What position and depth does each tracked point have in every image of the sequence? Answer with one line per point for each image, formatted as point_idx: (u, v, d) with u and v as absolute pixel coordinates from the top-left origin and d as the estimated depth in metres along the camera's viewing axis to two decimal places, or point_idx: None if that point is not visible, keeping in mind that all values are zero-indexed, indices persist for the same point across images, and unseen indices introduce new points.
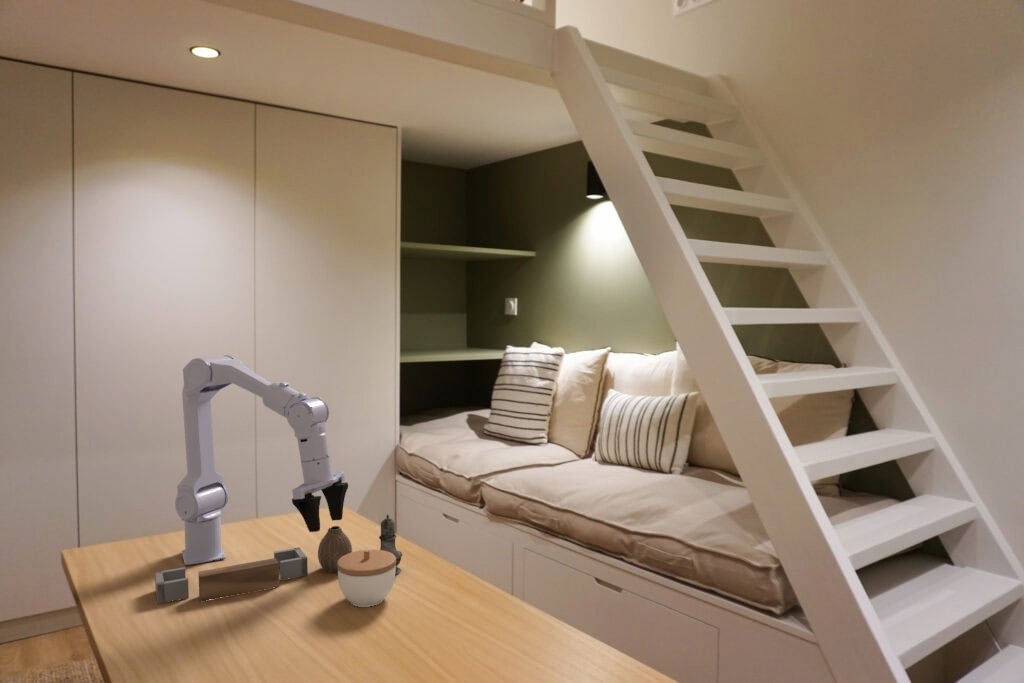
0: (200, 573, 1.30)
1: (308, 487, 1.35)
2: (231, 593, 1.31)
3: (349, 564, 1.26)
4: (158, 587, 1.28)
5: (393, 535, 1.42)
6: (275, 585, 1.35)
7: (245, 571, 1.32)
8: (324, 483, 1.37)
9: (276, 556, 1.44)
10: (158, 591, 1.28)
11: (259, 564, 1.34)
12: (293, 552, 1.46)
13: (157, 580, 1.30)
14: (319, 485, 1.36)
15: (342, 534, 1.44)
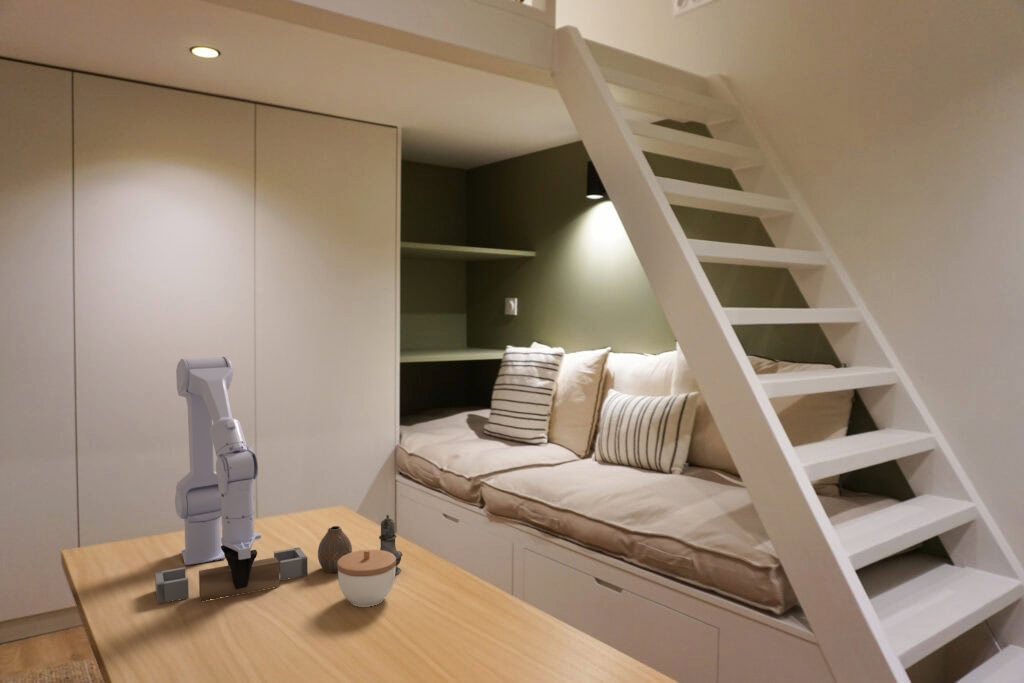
0: (200, 572, 1.30)
1: (250, 545, 1.29)
2: (231, 592, 1.31)
3: (349, 564, 1.26)
4: (158, 587, 1.28)
5: (393, 535, 1.42)
6: (275, 584, 1.35)
7: None
8: (254, 539, 1.33)
9: (276, 556, 1.44)
10: (158, 591, 1.28)
11: (259, 563, 1.35)
12: (293, 552, 1.46)
13: (157, 580, 1.30)
14: (253, 542, 1.31)
15: (342, 534, 1.44)
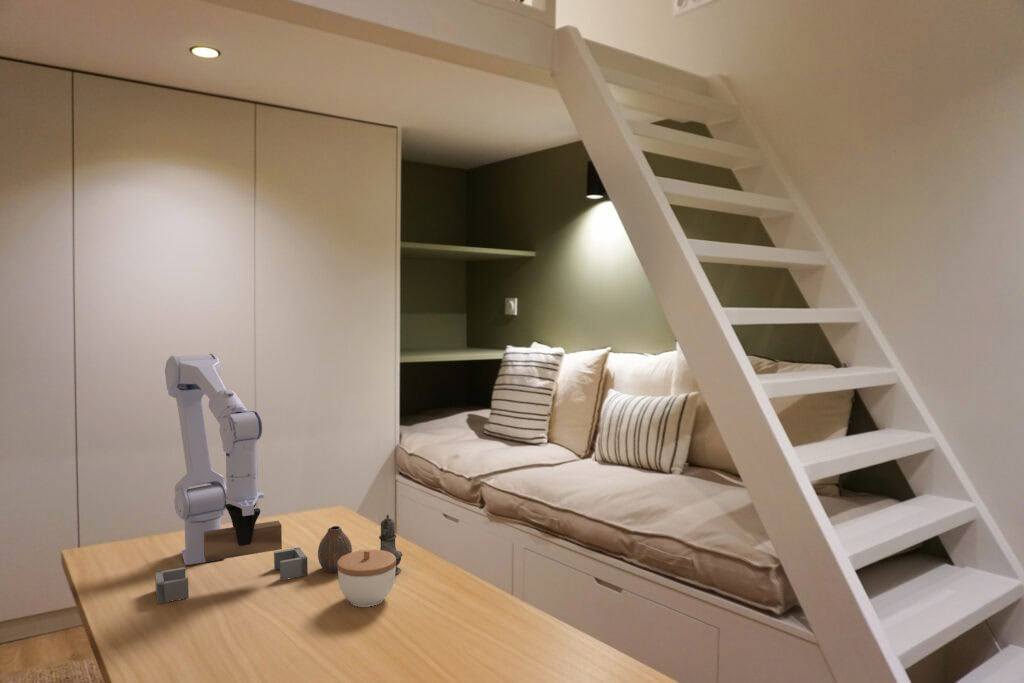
0: (205, 533, 1.34)
1: (253, 503, 1.32)
2: (235, 553, 1.35)
3: (349, 564, 1.26)
4: (158, 587, 1.28)
5: (393, 535, 1.42)
6: (278, 546, 1.39)
7: None
8: (257, 498, 1.36)
9: (276, 556, 1.44)
10: (158, 591, 1.28)
11: (262, 525, 1.38)
12: (293, 552, 1.46)
13: (157, 580, 1.30)
14: (256, 500, 1.35)
15: (342, 534, 1.44)
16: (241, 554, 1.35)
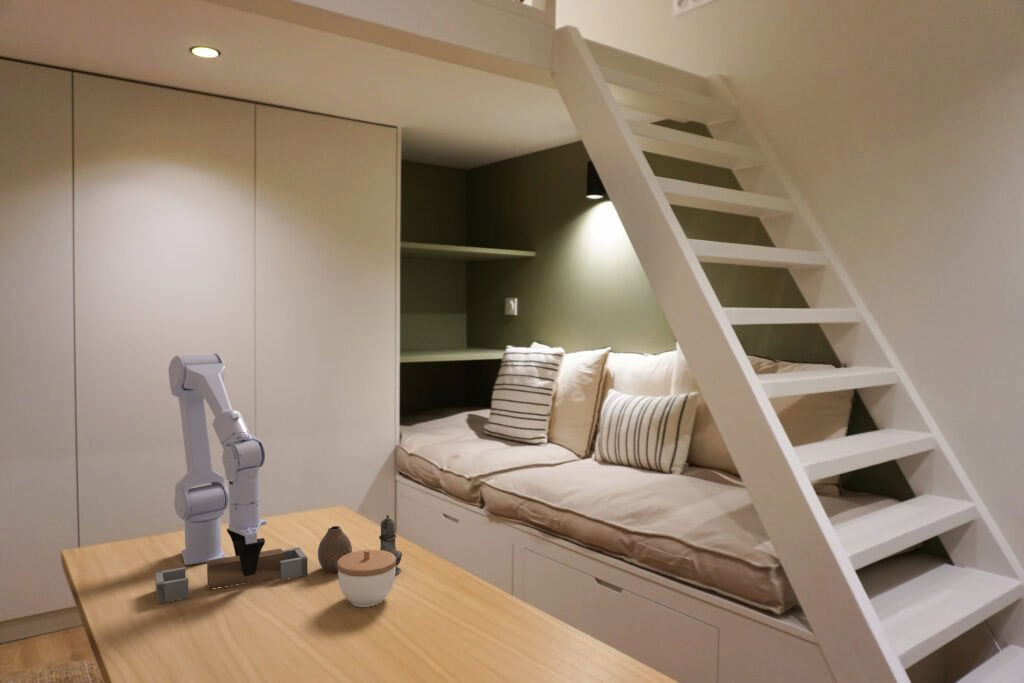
0: (209, 562, 1.35)
1: (256, 530, 1.34)
2: (238, 582, 1.37)
3: (349, 564, 1.26)
4: (158, 587, 1.28)
5: (393, 535, 1.42)
6: None
7: None
8: (260, 525, 1.38)
9: None
10: (158, 591, 1.28)
11: (265, 554, 1.40)
12: (293, 552, 1.46)
13: (157, 580, 1.30)
14: (259, 527, 1.37)
15: (341, 534, 1.44)
16: None
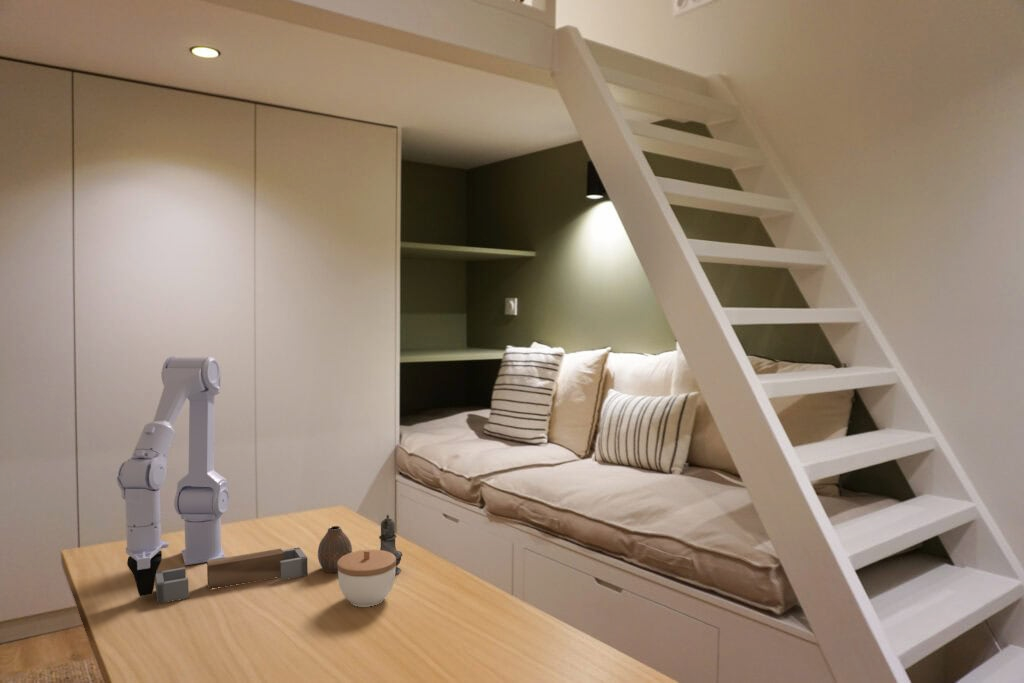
0: (208, 562, 1.35)
1: (152, 554, 1.25)
2: (238, 582, 1.37)
3: (349, 564, 1.26)
4: (158, 587, 1.28)
5: (393, 535, 1.42)
6: None
7: (252, 560, 1.38)
8: (159, 548, 1.29)
9: None
10: (158, 591, 1.28)
11: (265, 554, 1.40)
12: (293, 552, 1.46)
13: (157, 580, 1.30)
14: (157, 551, 1.28)
15: (341, 534, 1.44)
16: None
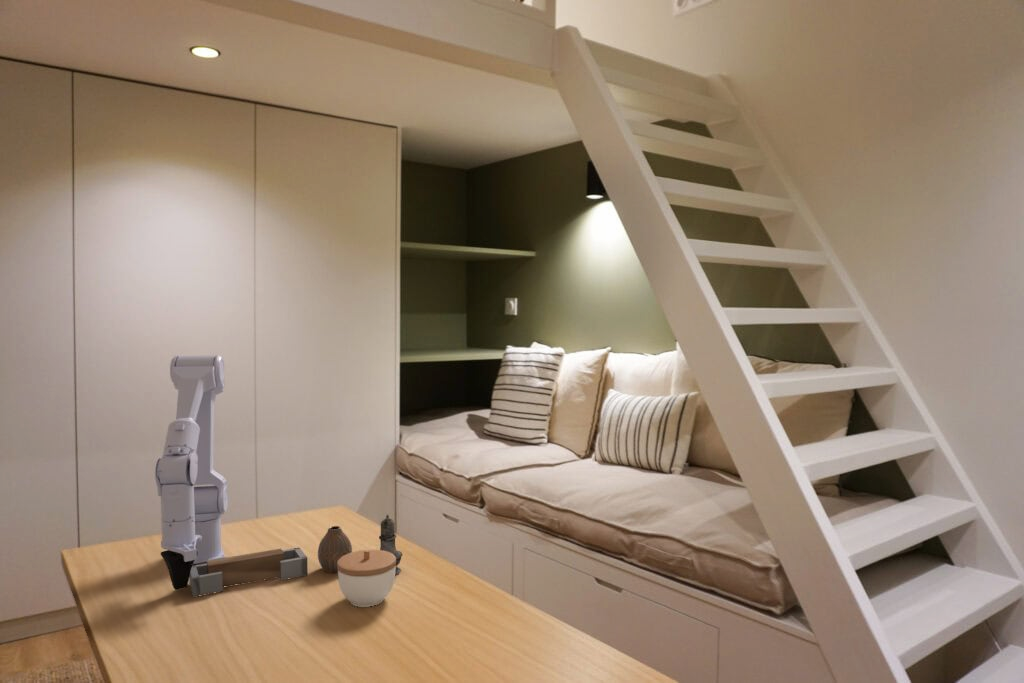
0: (208, 562, 1.35)
1: (194, 547, 1.29)
2: (238, 582, 1.37)
3: (349, 564, 1.26)
4: (193, 581, 1.31)
5: (393, 535, 1.42)
6: None
7: (252, 561, 1.38)
8: (196, 541, 1.33)
9: None
10: (193, 584, 1.31)
11: (265, 554, 1.40)
12: (293, 552, 1.46)
13: (192, 574, 1.33)
14: None
15: (341, 534, 1.44)
16: None
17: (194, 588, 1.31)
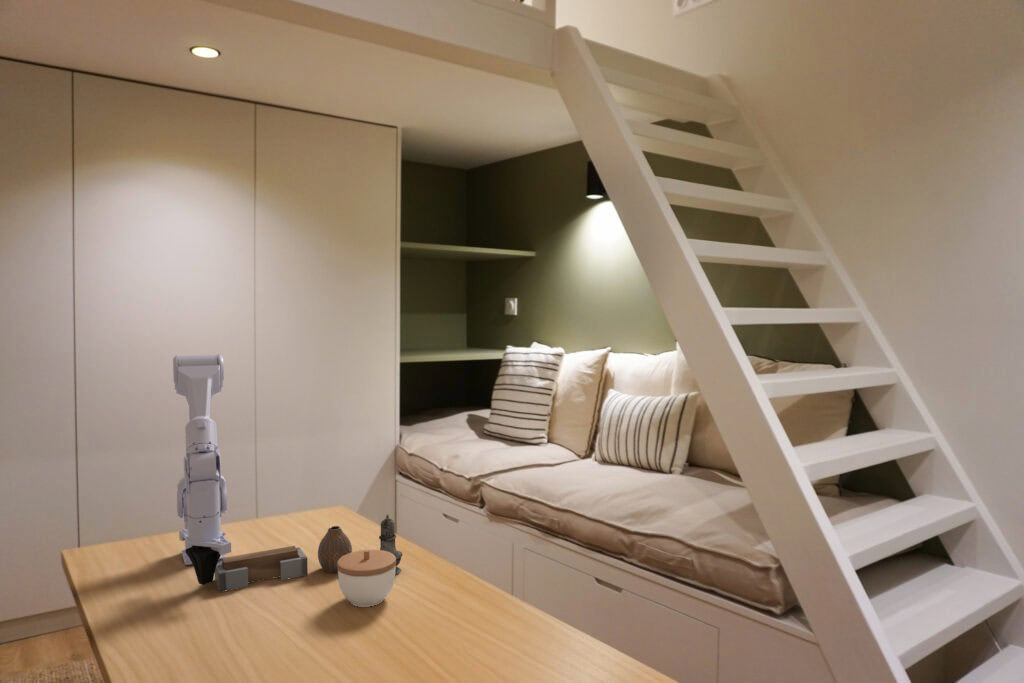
0: (224, 559, 1.37)
1: (226, 540, 1.33)
2: (253, 578, 1.38)
3: (349, 564, 1.26)
4: (220, 576, 1.33)
5: (393, 535, 1.42)
6: None
7: (267, 558, 1.39)
8: None
9: None
10: (220, 580, 1.33)
11: (279, 551, 1.41)
12: None
13: (218, 569, 1.35)
14: None
15: (341, 534, 1.44)
16: None
17: (221, 583, 1.33)
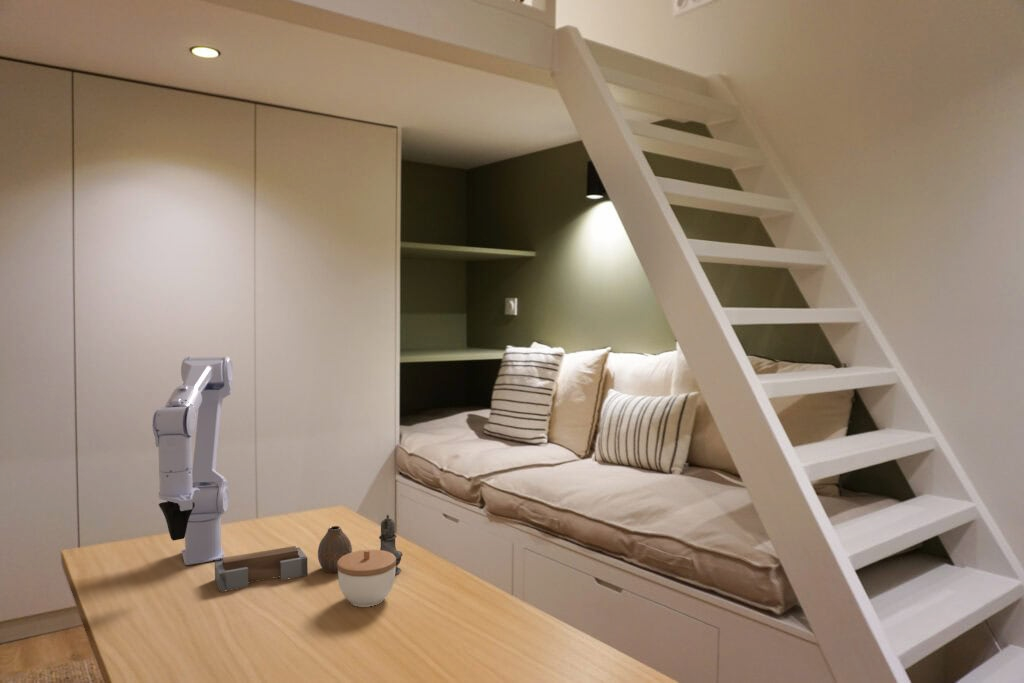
0: (224, 559, 1.37)
1: (191, 497, 1.30)
2: (253, 578, 1.38)
3: (349, 564, 1.26)
4: (220, 576, 1.33)
5: (393, 535, 1.42)
6: None
7: (267, 558, 1.39)
8: (193, 493, 1.34)
9: None
10: (220, 580, 1.33)
11: (279, 551, 1.41)
12: None
13: (218, 569, 1.35)
14: (192, 495, 1.33)
15: (341, 534, 1.44)
16: None
17: (221, 583, 1.33)
